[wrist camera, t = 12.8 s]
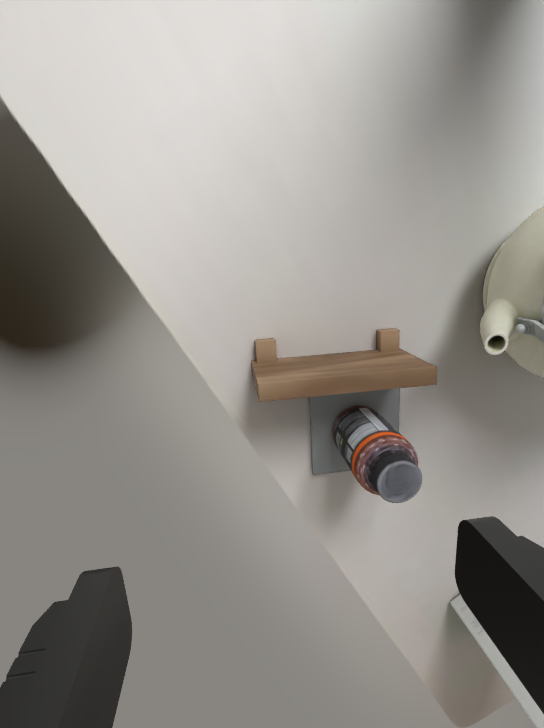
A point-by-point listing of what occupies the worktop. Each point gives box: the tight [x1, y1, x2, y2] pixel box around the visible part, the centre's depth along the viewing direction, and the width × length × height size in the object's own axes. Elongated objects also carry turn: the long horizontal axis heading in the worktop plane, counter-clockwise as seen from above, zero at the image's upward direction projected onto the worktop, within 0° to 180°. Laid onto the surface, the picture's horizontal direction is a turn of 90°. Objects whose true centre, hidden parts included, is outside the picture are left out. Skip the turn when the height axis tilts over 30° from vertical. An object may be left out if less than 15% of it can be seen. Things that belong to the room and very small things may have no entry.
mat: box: [310, 388, 400, 475], centre depth 44 cm, size 10×10×1 cm
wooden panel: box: [252, 328, 437, 402], centre depth 38 cm, size 6×16×8 cm, turn 93°
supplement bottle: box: [332, 406, 422, 503], centre depth 38 cm, size 6×6×11 cm
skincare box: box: [450, 594, 544, 728], centre depth 46 cm, size 8×7×16 cm
